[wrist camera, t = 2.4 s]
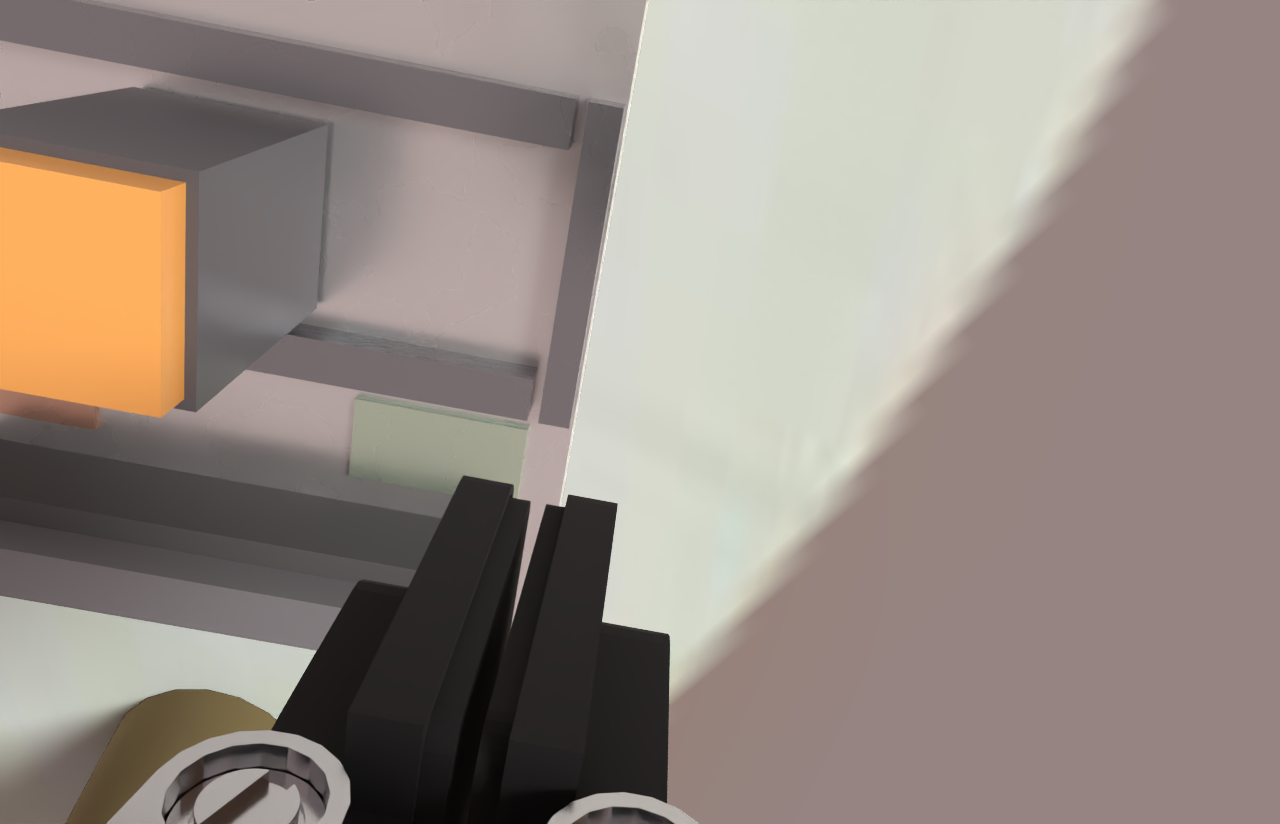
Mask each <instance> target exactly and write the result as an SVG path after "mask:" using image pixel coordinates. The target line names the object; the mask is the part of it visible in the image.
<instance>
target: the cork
mask: <svg viewBox="0 0 1280 824" xmlns="http://www.w3.org/2000/svg"><path fill="white" fill-rule="evenodd" d="M275 722H276V719H275V718H273V717H272V716H271V715H270V714H269V713H267V712H265V711H264V710H262V709H260V708H258V707H256V706H254V705H252V704H250V703H248V702H247V701H245V700H243V699H241V698H238V697H234V696H230V695H226V694H222V693H219V692H215V691H211V690H173V691H170V692H166V693H163V694H159V695H156V696H153V697H149V698H147V699H145V700H144V701H143V702H141V703H140V704H139V705H137V706H136V707H134V708H133V709H132V710H130V711H129V712H128V713H126V715H125V716H124V718H123V720H122V721H121V723H120V725H119V726H118V728H117V730H116V731H115V733H114V735H113V737H112V738H111V740H110V742H109V744H108V746H107V748H106V750H105V751H104V753H103V755H102V757H101V759H100V761H99V762H98V764H97V766H96V768H95V770H94V772H93V773H92V775H91V777H90V779H89V781H88V783H87V784H86V786H85V788H84V790H83V792H82V794H81V796H80V797H79V799H78V801H77V803H76V805H75V807H74V808H73V810H72V812H71V814H70V816H69V818H68V819H67V821H66V823H65V824H106V823H107V822H108V821H109V820H110V819H111V818H112V817H113V816H114V815H115V814H116V813H117V812H118V811H119V810H120V809H121V808H122V807H123V806H124V805H125V804H126V802H127V801H128V800H129V799H130V798H131V797H132V796H133V795H134V794H135V793H136V792H137V791H138V790H139V789H140V788H141V787H142V786H143V785H144V784H145V783H146V782H147V780H148V779H149V778H150V777H151V776H152V775H153V774H154V773H155V772H156V771H157V770H158V769H159V768H161V767H162V766H163V765H164V764H166V763H167V762H168V761H169V760H171V759H172V758H173V757H174V756H176V755H177V754H178V753H180V752H181V751H183V750H185V749H188V748H190V747H192V746H194V745H196V744H198V743H200V742H202V741H205V740H207V739H209V738H214V737H218V736H222V735H226V734H230V733H234V732H239V731H262V730H271V729H272V727H273V726H274V724H275Z"/></svg>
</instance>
